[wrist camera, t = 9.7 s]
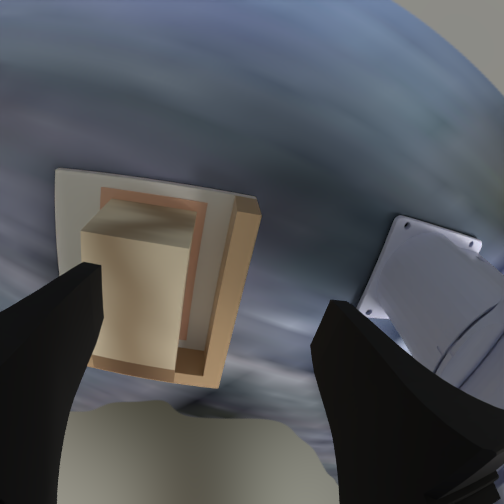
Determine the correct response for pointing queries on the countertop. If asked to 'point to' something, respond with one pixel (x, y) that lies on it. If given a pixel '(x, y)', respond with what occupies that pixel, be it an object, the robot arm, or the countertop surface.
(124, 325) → the maple block
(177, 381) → the arena
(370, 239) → the countertop surface
